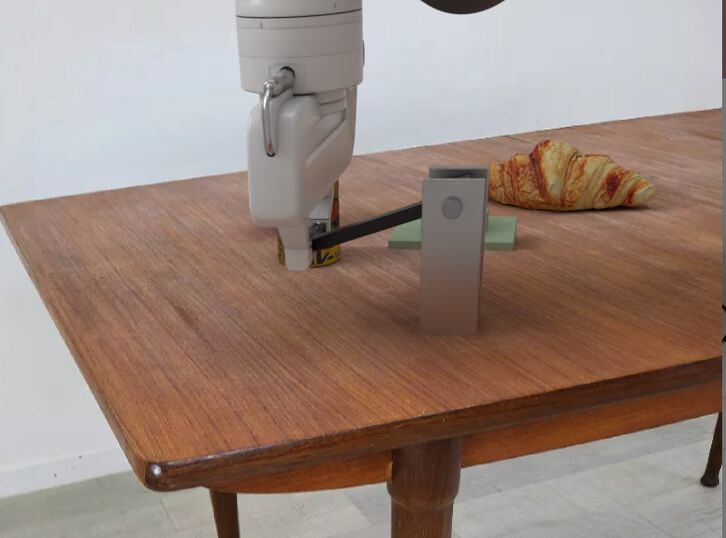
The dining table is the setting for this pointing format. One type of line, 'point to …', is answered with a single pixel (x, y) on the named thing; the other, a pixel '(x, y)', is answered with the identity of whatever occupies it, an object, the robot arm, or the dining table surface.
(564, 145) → the croissant
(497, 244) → the block
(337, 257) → the condiment
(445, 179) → the bracket
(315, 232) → the lever
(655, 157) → the dining table surface
